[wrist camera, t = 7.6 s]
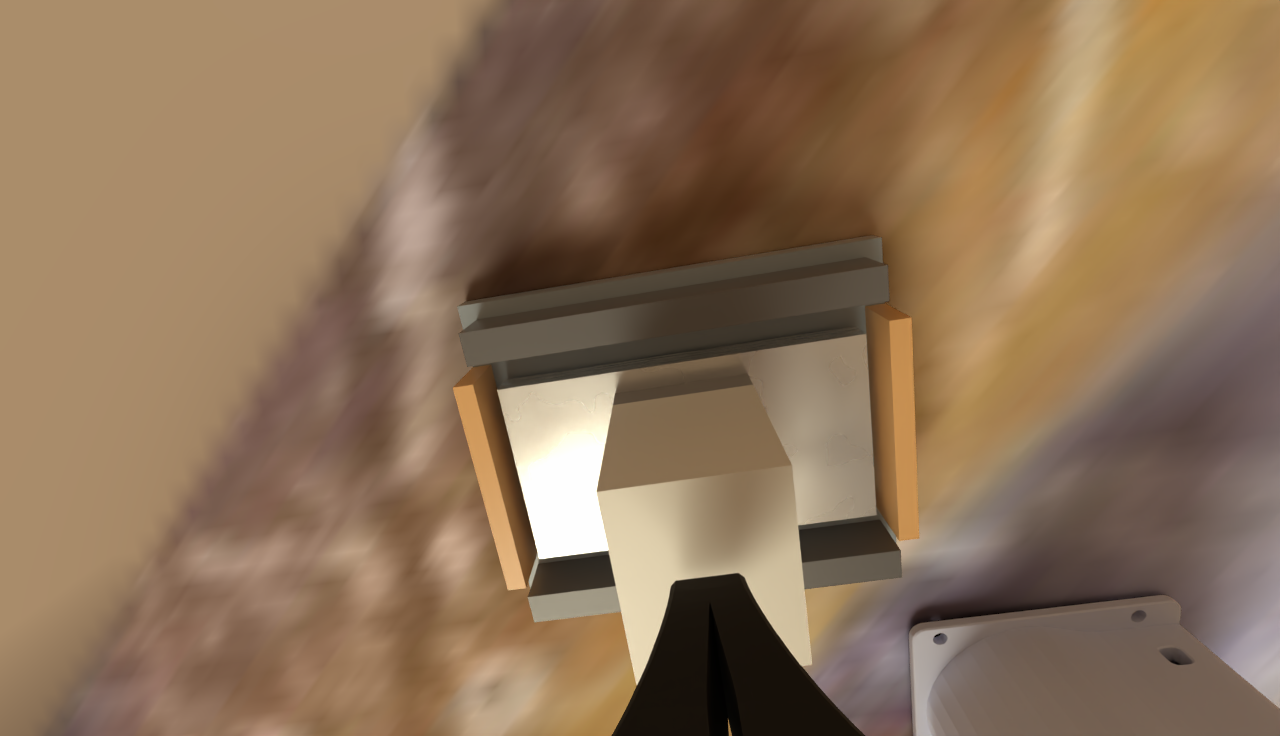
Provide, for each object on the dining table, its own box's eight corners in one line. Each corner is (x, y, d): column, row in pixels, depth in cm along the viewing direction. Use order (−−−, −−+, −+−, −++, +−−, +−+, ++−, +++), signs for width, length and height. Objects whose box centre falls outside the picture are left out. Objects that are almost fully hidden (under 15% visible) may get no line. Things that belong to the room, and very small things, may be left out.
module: (747, 373, 18) (792, 465, 12) (765, 520, 19) (811, 664, 13) (615, 393, 18) (596, 491, 12) (642, 536, 19) (636, 684, 14)
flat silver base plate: (854, 325, 18) (866, 334, 17) (865, 499, 20) (876, 515, 19) (505, 379, 19) (497, 390, 18) (544, 541, 21) (539, 558, 20)
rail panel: (872, 235, 18) (909, 244, 16) (888, 541, 22) (920, 592, 19) (465, 301, 19) (434, 320, 17) (537, 586, 23) (521, 640, 20)
